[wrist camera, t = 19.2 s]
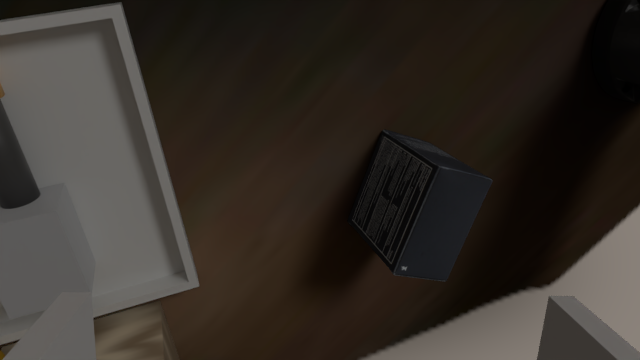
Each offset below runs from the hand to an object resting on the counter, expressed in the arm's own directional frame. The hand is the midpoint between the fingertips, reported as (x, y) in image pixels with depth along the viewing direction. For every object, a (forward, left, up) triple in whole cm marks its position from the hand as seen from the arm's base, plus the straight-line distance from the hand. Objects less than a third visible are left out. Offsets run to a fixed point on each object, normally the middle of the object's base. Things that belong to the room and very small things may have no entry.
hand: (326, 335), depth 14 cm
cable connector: (+15, +4, -31) cm, 35 cm away
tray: (+15, +5, -32) cm, 35 cm away
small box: (-17, +13, -32) cm, 38 cm away
